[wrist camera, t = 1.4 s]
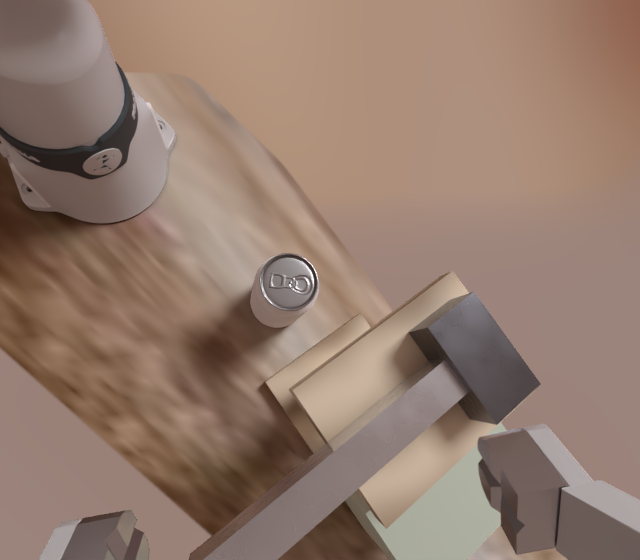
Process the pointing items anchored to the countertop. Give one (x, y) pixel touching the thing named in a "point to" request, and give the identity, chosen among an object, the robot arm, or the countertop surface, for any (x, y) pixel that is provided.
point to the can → (283, 290)
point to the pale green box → (437, 517)
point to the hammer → (386, 429)
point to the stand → (377, 398)
